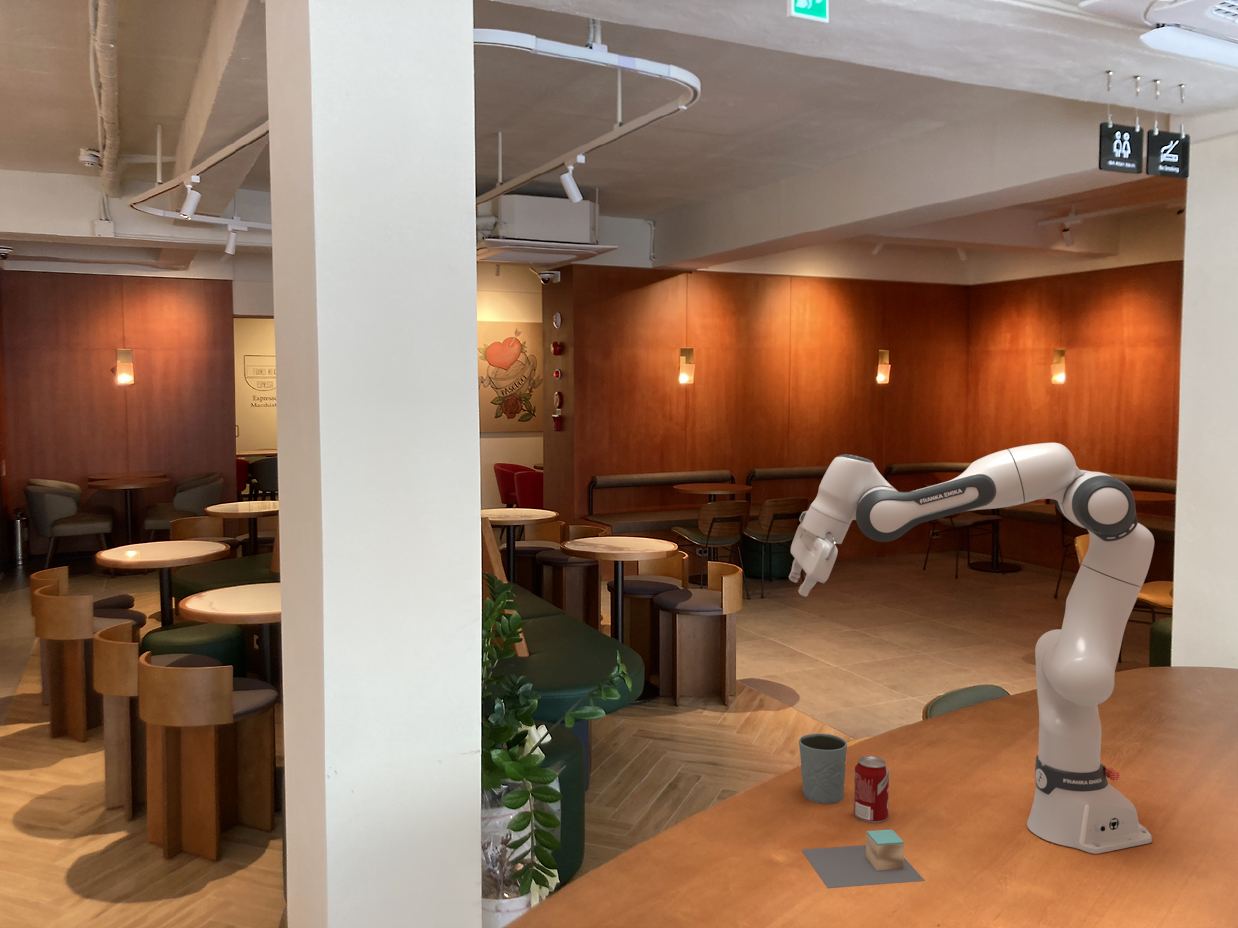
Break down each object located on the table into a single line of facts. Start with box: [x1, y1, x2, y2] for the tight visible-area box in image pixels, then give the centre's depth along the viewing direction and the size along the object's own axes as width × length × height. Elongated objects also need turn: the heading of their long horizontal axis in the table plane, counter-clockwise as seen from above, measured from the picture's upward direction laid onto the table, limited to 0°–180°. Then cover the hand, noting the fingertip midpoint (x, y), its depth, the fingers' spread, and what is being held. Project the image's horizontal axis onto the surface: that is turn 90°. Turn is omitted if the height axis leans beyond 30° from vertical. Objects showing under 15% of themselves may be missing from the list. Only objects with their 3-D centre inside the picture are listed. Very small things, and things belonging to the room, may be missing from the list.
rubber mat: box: [800, 844, 926, 889], centre depth 172 cm, size 18×14×1 cm
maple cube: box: [865, 829, 905, 871], centre depth 172 cm, size 5×5×5 cm
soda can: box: [853, 755, 890, 824], centre depth 192 cm, size 7×7×12 cm
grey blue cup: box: [798, 733, 848, 805], centre depth 203 cm, size 10×10×12 cm
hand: (797, 587), depth 195 cm, fingers open, 8 cm apart
